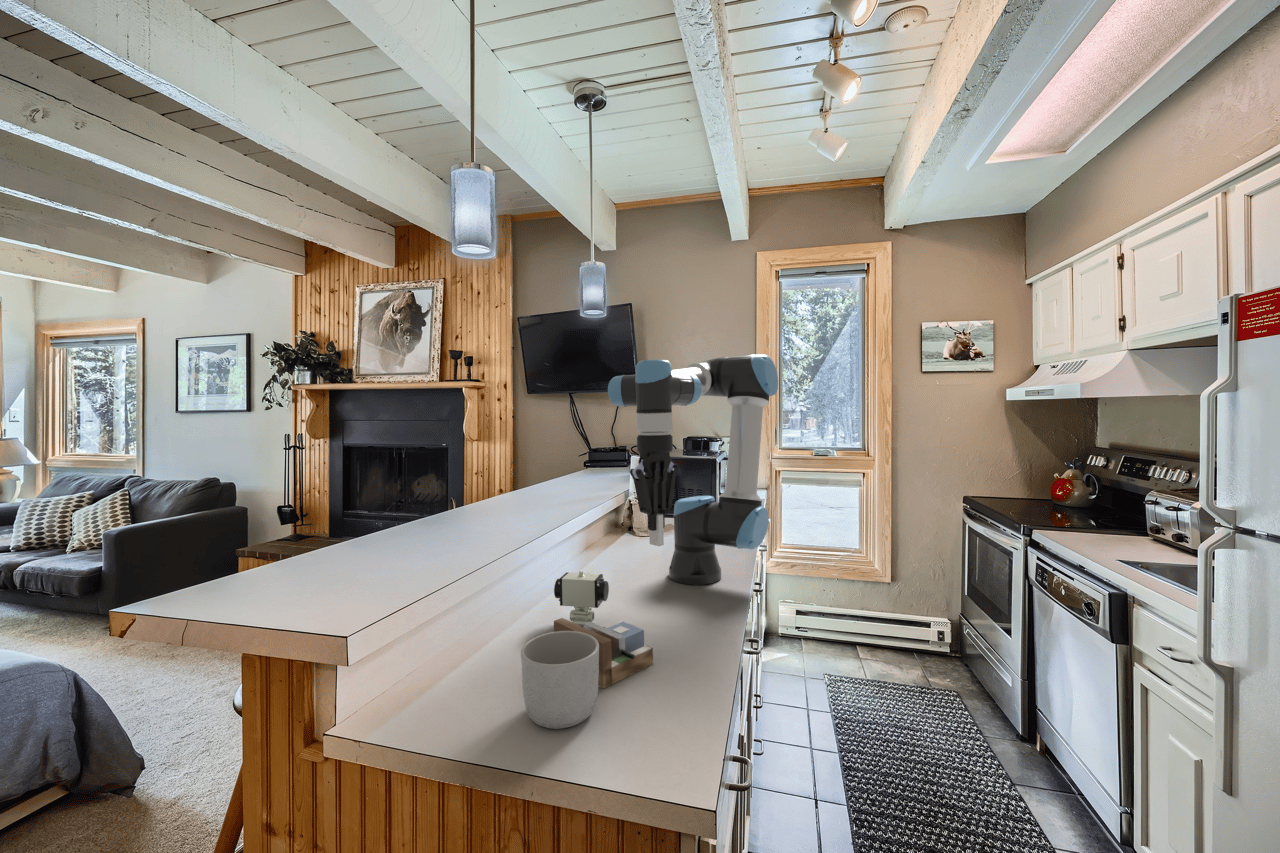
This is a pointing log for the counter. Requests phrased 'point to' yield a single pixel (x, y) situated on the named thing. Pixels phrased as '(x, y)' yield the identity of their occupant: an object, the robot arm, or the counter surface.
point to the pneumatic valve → (581, 594)
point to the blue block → (629, 635)
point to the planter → (560, 678)
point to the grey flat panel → (615, 638)
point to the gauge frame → (610, 656)
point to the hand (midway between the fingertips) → (656, 544)
